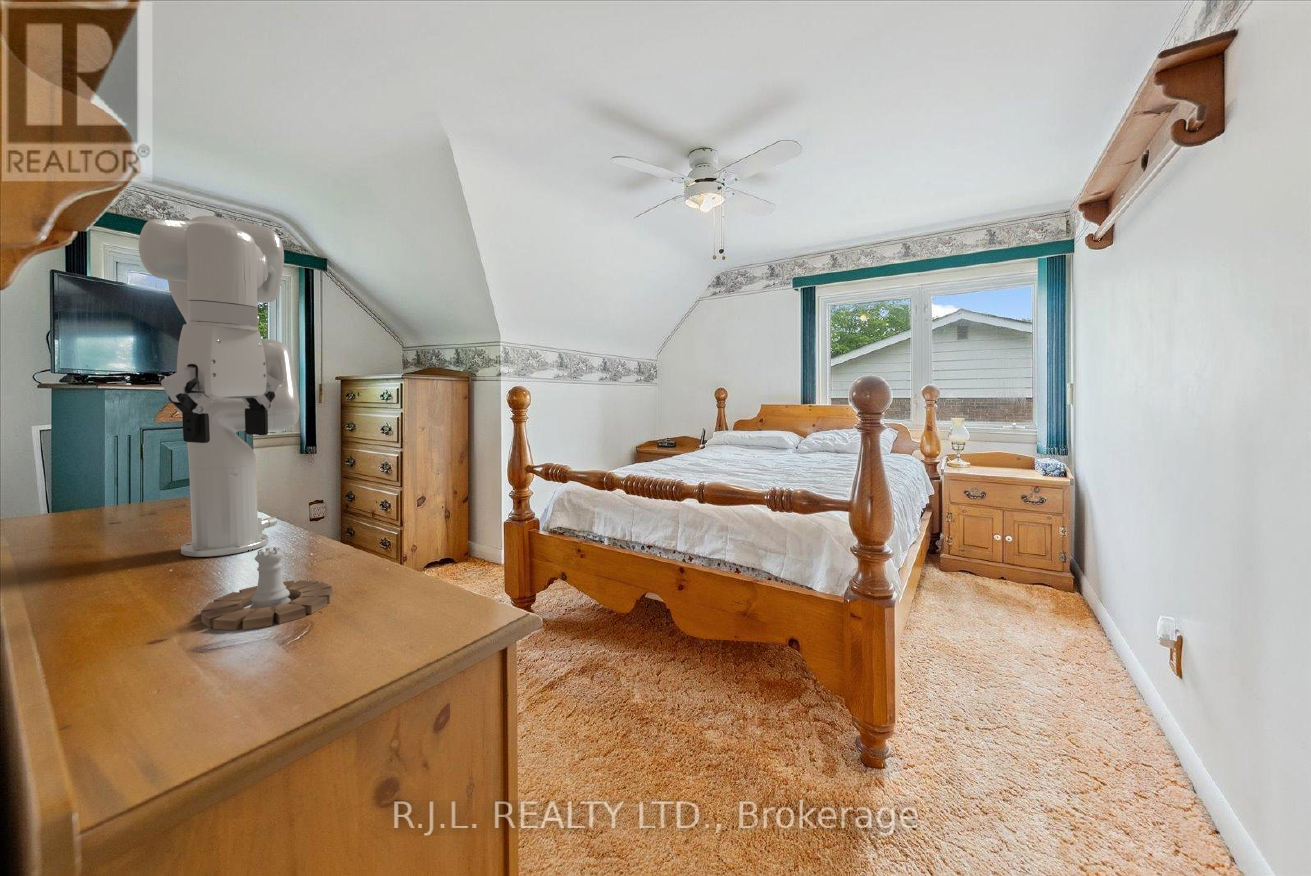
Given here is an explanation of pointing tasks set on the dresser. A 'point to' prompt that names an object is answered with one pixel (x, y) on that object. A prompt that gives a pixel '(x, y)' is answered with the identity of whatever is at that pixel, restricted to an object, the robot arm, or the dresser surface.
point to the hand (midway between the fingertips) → (228, 438)
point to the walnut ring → (234, 615)
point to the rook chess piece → (269, 580)
